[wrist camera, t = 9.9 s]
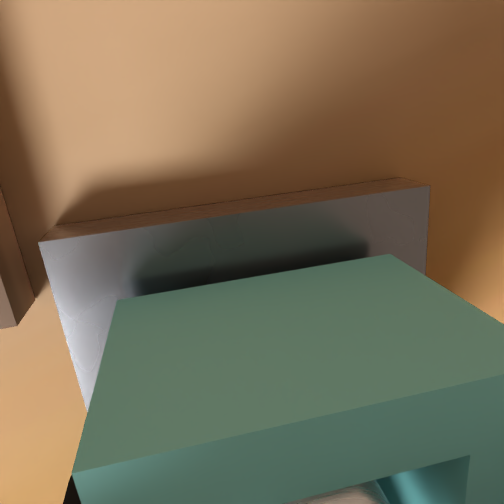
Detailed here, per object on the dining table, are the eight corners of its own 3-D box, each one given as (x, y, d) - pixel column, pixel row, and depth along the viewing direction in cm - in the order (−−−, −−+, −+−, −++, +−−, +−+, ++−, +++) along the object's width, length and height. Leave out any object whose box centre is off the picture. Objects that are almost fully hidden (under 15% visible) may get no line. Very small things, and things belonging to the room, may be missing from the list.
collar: (389, 253, 11) (562, 360, 6) (385, 457, 13) (507, 646, 8) (116, 300, 10) (71, 473, 5) (166, 513, 12) (167, 765, 7)
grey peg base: (400, 177, 12) (703, 260, 5) (393, 435, 16) (573, 689, 9) (54, 225, 11) (-147, 429, 4) (129, 500, 14) (94, 872, 7)
